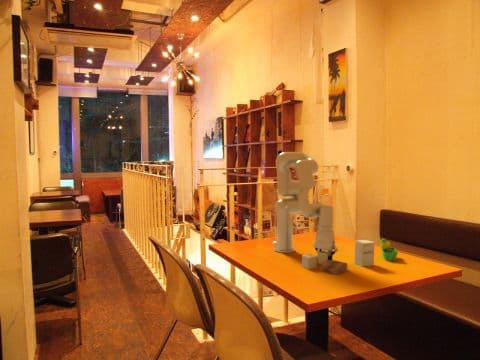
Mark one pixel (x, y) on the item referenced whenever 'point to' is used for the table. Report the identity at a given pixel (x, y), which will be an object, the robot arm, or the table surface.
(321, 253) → the beige block
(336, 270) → the walnut base
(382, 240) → the fruit basket
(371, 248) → the supplement box
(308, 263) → the grey block
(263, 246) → the table surface
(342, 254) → the table surface
